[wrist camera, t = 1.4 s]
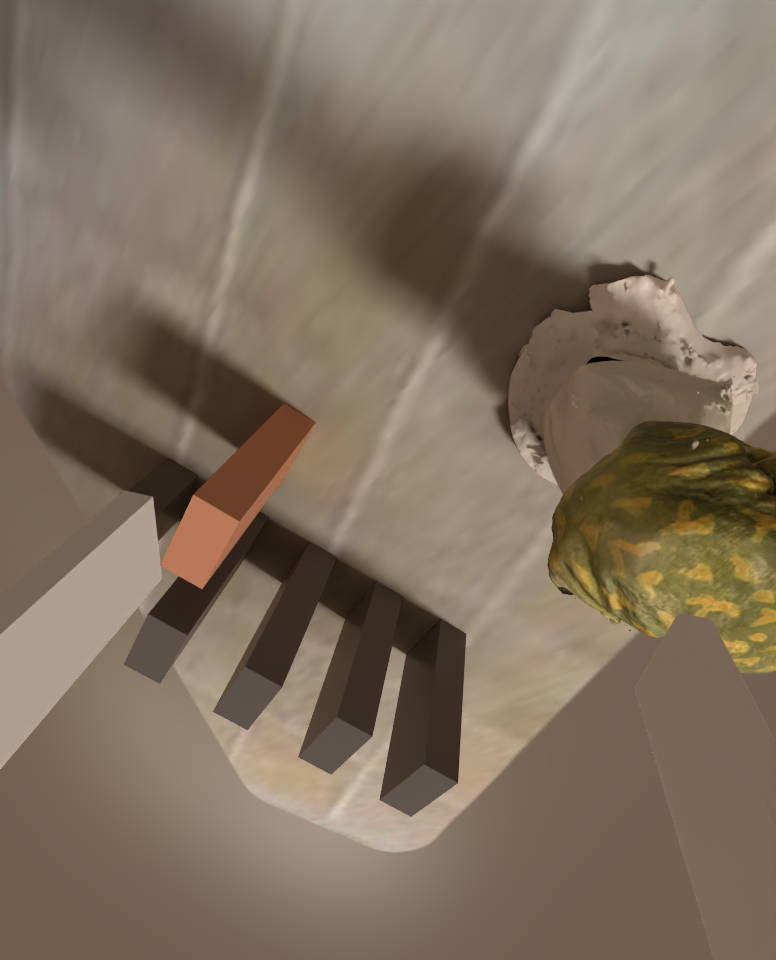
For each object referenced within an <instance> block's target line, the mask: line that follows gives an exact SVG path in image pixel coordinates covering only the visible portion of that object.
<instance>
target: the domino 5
mask: <svg viewBox="0 0 776 960" xmlns="http://www.w3.org/2000/svg"><path fill="white" fill-rule="evenodd" d="M402 598H403V597H402V596H401V595H399V594H397V593H396V592H394V591H392V590H391V589H389V588H387V587H386V586H384V585H382V584H380V583H379V582H376V583H375V584H374V585H373V586H372V588H371V589H370V590H369V591H368V593H367V594H366V595H365V596H364V597H363V599H362V600H361V601H360V602H359V604H358V605H357V606H356V607H355V608H354V610H353V611H352V612H351V613H350V614H349V616H348V617H347V618H346V619H345V622H344V625H343V628H342V631H341V634H340V636H339V639H338V642H337V645H336V648H335V651H334V654H333V657H332V660H331V663H330V666H329V669H328V672H327V674H326V677H325V680H324V683H323V686H322V689H321V692H320V695H319V698H318V701H317V704H316V707H315V710H314V712H313V715H312V718H311V721H310V724H309V727H308V730H307V733H306V736H305V739H304V742H303V745H302V748H301V751H300V753H299V756H298V757H299V758H301V759H303V760H305V761H307V762H309V763H311V764H312V765H314V766H316V767H318V768H320V769H322V770H324V771H326V772H328V773H329V774H332V773H333V772H335V771H336V770H337V769H338V768H339V767H340V766H341V765H342V764H343V763H344V762H345V761H346V760H347V759H349V758H350V757H351V756H352V755H353V754H354V753H355V752H356V751H357V750H358V749H359V748H360V747H361V746H363V745H364V744H365V743H366V742H367V741H368V740H369V739H370V738H371V737H372V735H373V731H374V726H375V722H376V717H377V712H378V708H379V703H380V699H381V694H382V690H383V685H384V680H385V676H386V671H387V667H388V662H389V657H390V653H391V648H392V644H393V639H394V634H395V630H396V625H397V621H398V616H399V612H400V607H401V602H402Z"/></svg>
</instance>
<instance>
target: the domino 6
mask: <svg viewBox="0 0 776 960" xmlns="http://www.w3.org/2000/svg"><path fill="white" fill-rule="evenodd" d="M465 646H466V634H465V633H463V632H462V631H460V630H458V629H457V628H455V627H453V626H452V625H450V624H448V623H446V622H445V621H443V620H440V621H439V622H438V623H437V624H436V625H435V626H434V627H433V628H432V629H431V630H430V631H429V632H428V633H427V634H426V635H425V636H424V637H423V638H422V639H421V640H420V641H419V642H418V643H417V644H416V645H415V646H414V647H413V648H412V649H411V651H410V652H409V653H408V654H407V655H406V659H405V664H404V670H403V675H402V681H401V686H400V692H399V697H398V703H397V708H396V713H395V719H394V724H393V730H392V735H391V741H390V746H389V752H388V757H387V762H386V768H385V773H384V779H383V784H382V790H381V795H380V800H381V801H383V802H384V803H386V804H388V805H390V806H392V807H394V808H396V809H398V810H399V811H401V812H403V813H405V814H407V815H409V816H411V817H412V816H413V815H414V814H416V813H417V812H418V811H420V810H421V809H423V808H424V807H425V806H427V805H428V804H430V803H431V802H432V801H434V800H435V799H436V798H438V797H439V796H441V795H442V794H443V793H445V792H446V791H448V790H449V789H450V788H452V787H453V786H454V785H456V784H457V783H458V773H459V755H460V736H461V718H462V700H463V682H464V664H465Z"/></svg>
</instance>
